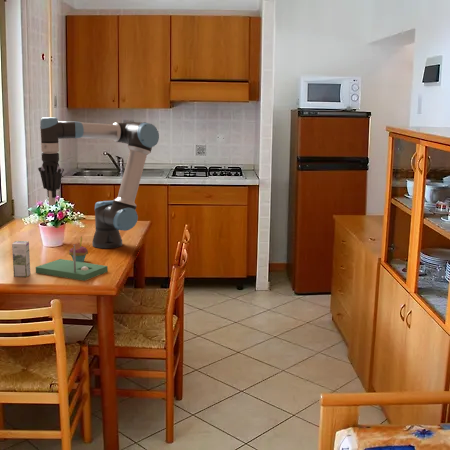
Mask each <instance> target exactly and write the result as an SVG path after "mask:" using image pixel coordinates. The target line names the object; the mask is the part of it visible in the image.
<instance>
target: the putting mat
mask: <svg viewBox="0 0 450 450" xmlns="http://www.w3.org/2000/svg"><path fill="white" fill-rule="evenodd" d="M72 248H73V257H74V261H73V260H70V259H63V258H60V259H56V260H53V261H50V262H47V263H43V264H41V265H38V266H35V273H36V274H42V275H48V276H54V277H59V278H65V279H72V280H77V281H83V282H84V281H88V280H90V279H93V278H95V277H97V276H100V275H103V274H105V273H106V274H107V273H109V272H108V270H109V268H108V267H109V266H108V265H102V264H97V263H90V262H85V261H84V262H77V261H76V258H75V250H77V249H80V242H77V243H73V244H72ZM84 266H86V267H88V268H89V270H87V271H84V270H81V268H82V267H84Z"/></svg>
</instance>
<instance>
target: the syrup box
mask: <svg viewBox="0 0 450 450" xmlns="http://www.w3.org/2000/svg"><path fill="white" fill-rule="evenodd" d="M11 248H12V249H11V250H12V251H11V252H12V270H13V277H15V278H27V277H29V276H30V275H31V262H30V261H31V259H30V257H31V256H30V241H29V240H25V241H24V240H15V241H14V242H12V244H11Z"/></svg>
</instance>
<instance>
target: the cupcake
mask: <svg viewBox="0 0 450 450" xmlns="http://www.w3.org/2000/svg"><path fill="white" fill-rule="evenodd" d="M79 239H80V241H79V243H80V249H77V250H75V258H76V261H77V262H84V263H85V258H86V256H87V255H88V254H89V253H88V252H89V251H88V249H87V247H84V246H82V243H83V235H81V236H80V238H79ZM68 255H69V256H70V257H71V258H72V261H74V257H73V247H72V248H70V249H69V251H68Z"/></svg>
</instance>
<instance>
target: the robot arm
mask: <svg viewBox="0 0 450 450" xmlns="http://www.w3.org/2000/svg"><path fill="white" fill-rule="evenodd" d="M39 124H40V125H39V127H40V128H39V130H40V145H41V146H40V147H41V152H42V153H41V161H42V165H41V166H40V167H38V168H37V169H38V171H39V173H40V178H41V183H42V187H43V189H45V190H46V191H47V198H48V205H49V206H54V205H56V204H57V203H56V201H57V200H56V198H57V191H58V190H60V189H61V185H62V178H63V177H62V176H63V173H64V171H65V169H64V168H62V167H60V163H59V161H60V153H59V152H60V147H59V145H60V144H59V142H60V141H59V139H61V140H62V139H90V140H92V139H93V140H108V141H109V140H111V141H112V142H114V143H122V144H125V145H127V147H128V149H129V152H128V157H127V160H126V165H125V168H124V171H123V175H122V179H121V183H120V187H119V190H118V195H117V197H115V198H114V199H113V200H103V201H101V200H100V201H97V202H95V204H94V220H95V221H94V222H95V224H94V225H95V232H94V235H93V238H92V247H94V248H98V249H115V248H120V247H122V246H123V239H122V235H121V232H120V231H124V232H125V231H129V230H131V229H134V227H135V226H136V225H137V223H138V219H139V216H138V212H137V211H136V210H137V204H136V203H135V200H136V197H137V194H138V190H139V186H140V182H141V179H142V175H143V172H144V167H145V163H146V160H147V155H149V154H151V153H152V148H154V147H155V146H156V145H157V144H158V143H159V140H160V134H159V131H158V128H157V127H156V126H155V125H154V124H152V123H149V122H141V121H139V122H137V121H129V122H113V123H112V124H108V123H97V122H96V123H95V122H82V121H68V120H67V121H66V120H59V119H58V118H57V117H49V116H48V117H41V118H40V123H39Z"/></svg>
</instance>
